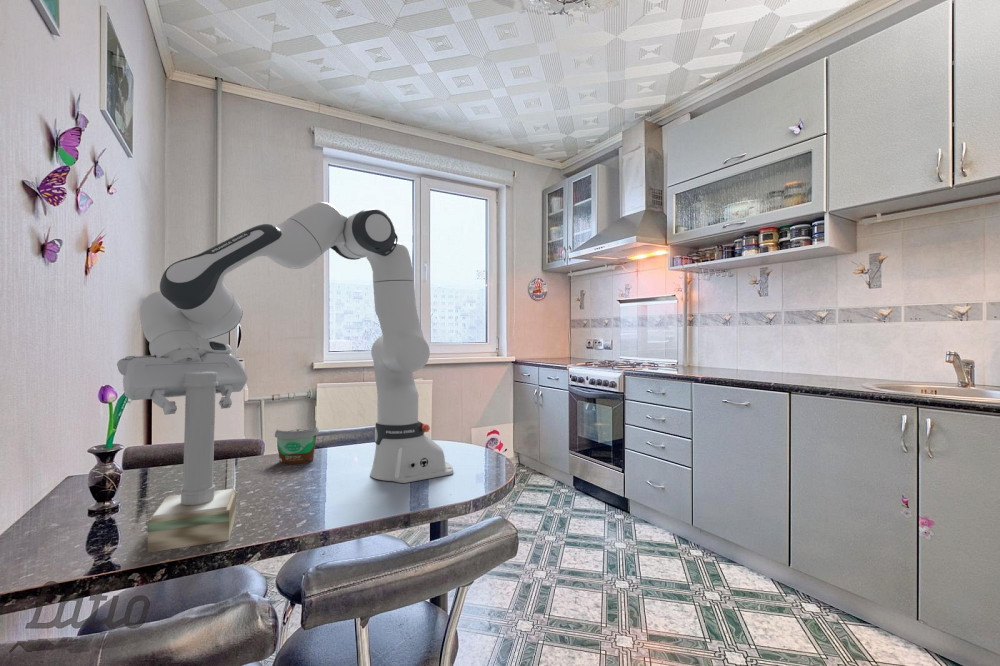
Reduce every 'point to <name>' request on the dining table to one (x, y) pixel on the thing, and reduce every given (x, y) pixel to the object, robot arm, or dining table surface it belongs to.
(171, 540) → the stand
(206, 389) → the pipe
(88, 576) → the dining table surface
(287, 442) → the food container
